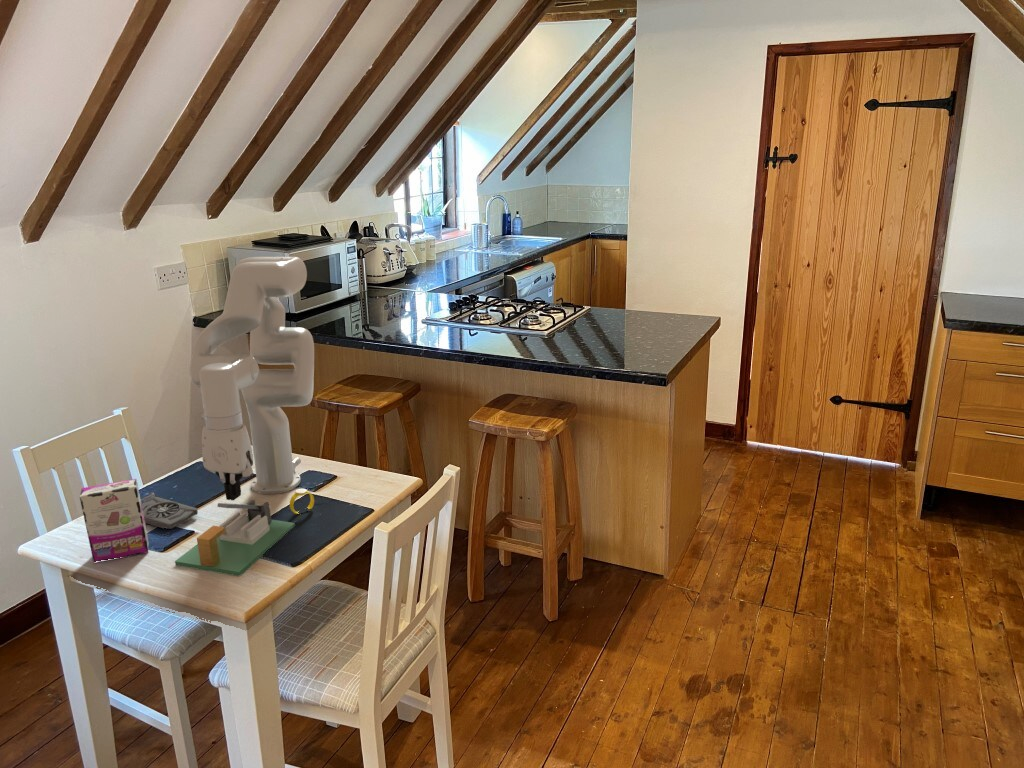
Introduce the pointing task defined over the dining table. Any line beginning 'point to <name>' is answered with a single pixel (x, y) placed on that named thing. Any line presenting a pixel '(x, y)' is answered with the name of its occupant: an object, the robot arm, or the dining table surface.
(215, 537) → the block
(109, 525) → the candy bar box
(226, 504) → the grey long bar
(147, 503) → the graphics card
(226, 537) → the board
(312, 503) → the watch
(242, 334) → the robot arm
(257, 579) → the dining table surface
